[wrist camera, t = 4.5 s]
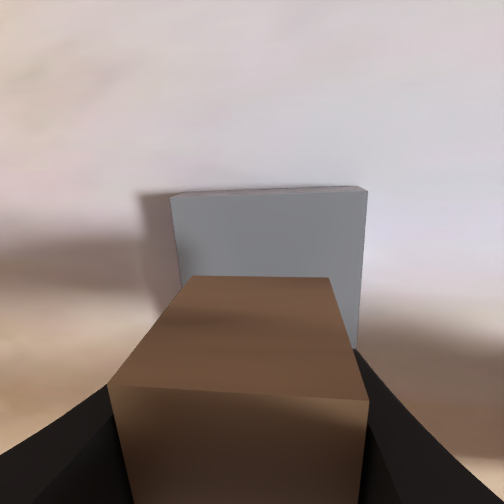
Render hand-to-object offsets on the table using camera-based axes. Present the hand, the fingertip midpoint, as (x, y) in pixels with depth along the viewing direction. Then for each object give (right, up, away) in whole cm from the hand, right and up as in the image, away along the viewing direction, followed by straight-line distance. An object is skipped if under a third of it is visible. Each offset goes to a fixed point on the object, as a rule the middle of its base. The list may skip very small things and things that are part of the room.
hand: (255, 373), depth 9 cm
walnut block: (0, +1, +1) cm, 2 cm away
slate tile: (+1, +3, +8) cm, 8 cm away
